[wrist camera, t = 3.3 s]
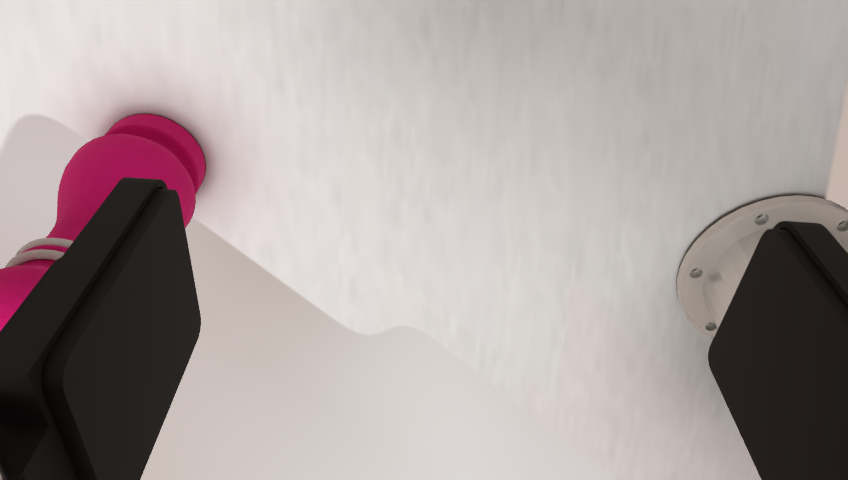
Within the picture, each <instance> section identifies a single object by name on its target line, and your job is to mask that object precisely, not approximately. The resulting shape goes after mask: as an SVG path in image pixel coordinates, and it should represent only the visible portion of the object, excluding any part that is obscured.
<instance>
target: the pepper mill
mask: <svg viewBox="0 0 848 480" xmlns="http://www.w3.org/2000/svg"><path fill="white" fill-rule="evenodd" d="M205 170H206V165H205V159H204V155H203V152H202V150H201V148H200V146H199V145H198V143H197V142H196V140H195V139H194V138H193V137H192V136H191V135H190V134H189V133H188V132H187V131H186V130H185V129H184V128H182V127H181V126H180V125H178V124H177V123H175V122H173V121H171V120H169V119H166V118H164V117H161V116H156V115H150V114H137V115H132V116H128V117H125V118H123V119H121V120H120V121H118V122H117V123H115V125H114V126H113V127H112V128H111V129H110V130H109V131H108V132H107V133H106V134H105V135H104V136H102V137H99V138H96V139H93V140H91V141H90V142H88V143H86V144H85V145H84V146H82V147H81V148H80V149H79V150H78V151H77V152H76V153H75V155H74V156H73V157H72V159H71V160H70V162H69V163H68V165H67V166H66V168H65V170H64V173H63V175H62V179H61V182H60V185H59V191H58V206H57V221H56V224H55V227H54V228H53V230H52V231H51V232H50V234H49V235H48V236H47V237H46V238H43V239H37V240H34V241H31V242H29V243H28V244H26V245H24V246H23V247H22V248H21V249H20V250H19V251H18V252H17V254H16V256H15V257H14V258H12V259H11V260H10V261H9V262H8V264H7V265H6V267H5V268H3V269H0V331H1V330H2V329H3V327H4V326H5V325H6V323H7V322H8V321H9V319H10V318H11V317H12V316H13V314H14V313H15V312H16V310H17V309H18V308H19V306H20V305H21V304H22V302H23V301H24V300H25V299H26V297H27V296H28V295H29V293H30V292H31V291H32V289H33V288H34V287H35V286H36V284H37V283H38V282H39V280H40V279H41V278H42V276H43V275H44V274H45V273H46V271H47V270H48V269H49V267H50V266H51V265H52V264H53V263H54V262H55V261H56V260H57V259H59V258H61V257H62V256H63V255H64V253H65V252H66V251H67V249H68V248H69V247H70V245H71V244H72V243H73V241H74V240H75V239H76V237H77V236H78V235H79V233H80V232H81V231H82V230H83V228H84V227H85V226H86V224H87V223H88V222H89V220H90V219H91V218H92V216H93V215H94V214H95V212H96V211H97V210H98V208H99V207H100V206H101V204H102V203H103V202H104V201H105V199H106V198H107V197H108V195H109V194H110V193H111V191H112V190H113V189H114V187H115V186H116V185H117V183H118V182H119V181H120V180H121V179H122V178H124V177H132V178H147V179H161V180H163V181H164V182H165V184H166V185H167V188H168V189H174V190H176V191H177V193H178V195H179V198H180V204H181V209H182V215H183V221H184V226H185V228H186V226H187V225H188V224H189V222H190V220H191V218H192V216H193V213H194V209H195V203H196V200H195V194H196V193H197V191H198V189H199V187H200V186H201V184H202V182H203V180H204V176H205Z"/></svg>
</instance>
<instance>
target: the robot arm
mask: <svg viewBox="0 0 848 480" xmlns="http://www.w3.org/2000/svg"><path fill="white" fill-rule="evenodd" d="M677 295H678V298H679V301H680V304H681V306H682V308H683V310H684V312H685V314H686V316H687V318H688V319H689V320H690V321H691V322H692V324H693V325H694V326H695V327H697V328H698V329H699V330H701V331H702V332H703V333H705V334H707V335H710V336H712V337H714V339H713V341H712V343H711V345H710V348H709V354H708V360H709V366H710V369H711V371H712V373H713V375H714V378H715V380H716V382H717V384H718V386H719V388H720V391H721V393H722V395H723V397H724V399H725V401H726V404H727V406H728V408H729V410H730V412H731V414H732V416H733V419H734V421H735V423H736V425H737V427H738V429H739V432H740V434H741V436H742V438H743V440H744V442H745V445H746V447H747V449H748V451H749V453H750V455H751V458H752V460H753V462H754V464H755V466H756V468H757V471H758V473H759V475H760V477H761V479H762V480H848V211H847V210H846V209H845V208H844V207H842V206H840V205H838V204H836V203H834V202H832V201H829V200H826V199H822V198H818V197H812V196H800V195H795V196H782V197H775V198H771V199H767V200H762V201H758V202H756V203H753V204H750V205H748V206H745V207H742V208H740V209H738V210H736V211H734V212H733V213H731V214H729V215H727V216H725V217H723V218H722V219H720V220H719V221H718V222H716V223H715V224H714V225H712V226H711V227H710V228H708V229H707V230H706V231H705V232H704V233H703V234H702V235H701V236H700V237H699V238H698V239H697V240H696V241H695V242H694V244H693V245H692V246H691V248H690V249H689V251H688V252H687V253H686V255H685V257H684V259H683V262H682V264H681V266H680V268H679V273H678V277H677ZM200 326H201V317H200V310H199V305H198V299H197V294H196V288H195V282H194V277H193V271H192V265H191V260H190V254H189V249H188V243H187V238H186V232H185V226H184V221H183V215H182V209H181V204H180V198H179V195H178V193H177V191H176V190H174V189H168V188H167V185H166V184H165V182H164V181H163V180H161V179H147V178H132V177H124V178H122V179H121V180H120V181H119V182H118V183H117V185H116V186H115V187H114V189H113V190H112V191H111V193H110V194H109V195H108V197H107V198H106V199H105V201H104V202H103V203H102V204H101V206H100V207H99V208H98V210H97V211H96V212H95V214H94V215H93V216H92V218H91V219H90V220H89V222H88V223H87V224H86V226H85V227H84V228H83V230H82V231H81V232H80V233H79V235H78V236H77V237H76V239H75V240H74V241H73V243H72V244H71V245H70V247H69V248H68V249H67V251H66V252H65V253H64V255H63V256H62V257H61V258H59V259H57V260H56V261H55V262H54V263H53V264H52V265H51V266H50V267H49V269H48V270H47V271H46V273H45V274H44V275H43V276H42V278H41V279H40V280H39V282H38V283H37V284H36V286H35V287H34V288H33V289H32V291H31V292H30V293H29V295H28V296H27V297H26V299H25V300H24V301H23V302H22V304H21V305H20V306H19V308H18V309H17V310H16V312H15V313H14V314H13V316H12V317H11V318H10V319H9V321H8V322H7V323H6V325H5V326H4V327H3V329H2V330H1V331H0V480H140V478H141V476H142V473H143V471H144V468H145V466H146V464H147V461H148V459H149V456H150V454H151V452H152V449H153V447H154V444H155V442H156V439H157V437H158V435H159V432H160V430H161V427H162V425H163V422H164V420H165V417H166V415H167V413H168V410H169V408H170V405H171V403H172V401H173V398H174V396H175V393H176V391H177V388H178V386H179V383H180V381H181V379H182V376H183V374H184V371H185V369H186V366H187V364H188V362H189V359H190V357H191V354H192V352H193V349H194V347H195V344H196V342H197V340H198V337H199V333H200Z"/></svg>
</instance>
